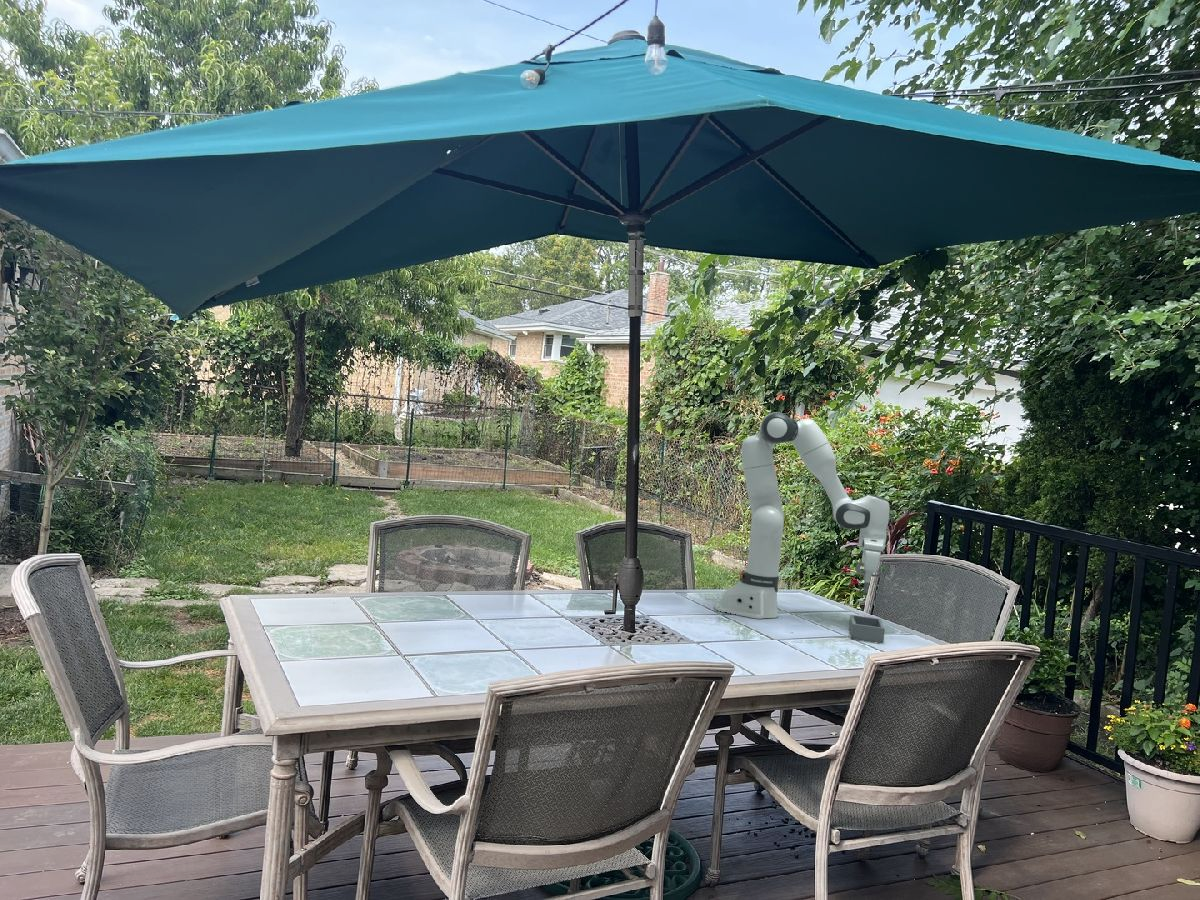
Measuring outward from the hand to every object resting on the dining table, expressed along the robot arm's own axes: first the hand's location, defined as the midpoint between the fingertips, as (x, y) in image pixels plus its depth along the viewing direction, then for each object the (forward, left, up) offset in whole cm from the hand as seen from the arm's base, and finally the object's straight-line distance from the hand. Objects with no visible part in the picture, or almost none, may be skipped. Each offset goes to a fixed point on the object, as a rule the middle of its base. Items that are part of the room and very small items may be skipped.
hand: (866, 581), depth 295 cm
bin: (0, -13, -16) cm, 21 cm away
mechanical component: (0, 0, -4) cm, 4 cm away
